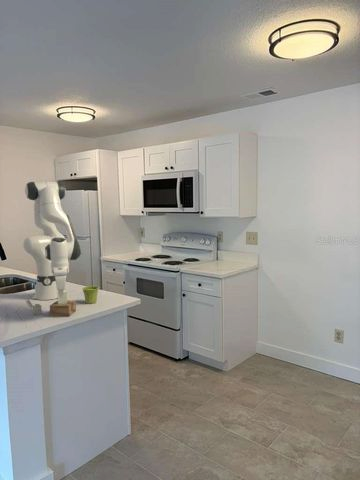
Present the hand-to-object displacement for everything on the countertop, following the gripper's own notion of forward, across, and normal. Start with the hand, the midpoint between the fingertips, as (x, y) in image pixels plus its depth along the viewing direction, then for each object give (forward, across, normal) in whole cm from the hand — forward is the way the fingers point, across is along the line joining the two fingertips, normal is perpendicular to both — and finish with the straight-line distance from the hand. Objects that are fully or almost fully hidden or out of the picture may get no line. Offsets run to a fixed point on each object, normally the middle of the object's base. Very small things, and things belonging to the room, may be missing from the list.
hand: (61, 295), depth 188 cm
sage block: (+4, 0, 0) cm, 4 cm away
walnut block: (+10, +1, 0) cm, 10 cm away
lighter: (+10, -4, -14) cm, 18 cm away
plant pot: (+10, -16, +16) cm, 25 cm away
